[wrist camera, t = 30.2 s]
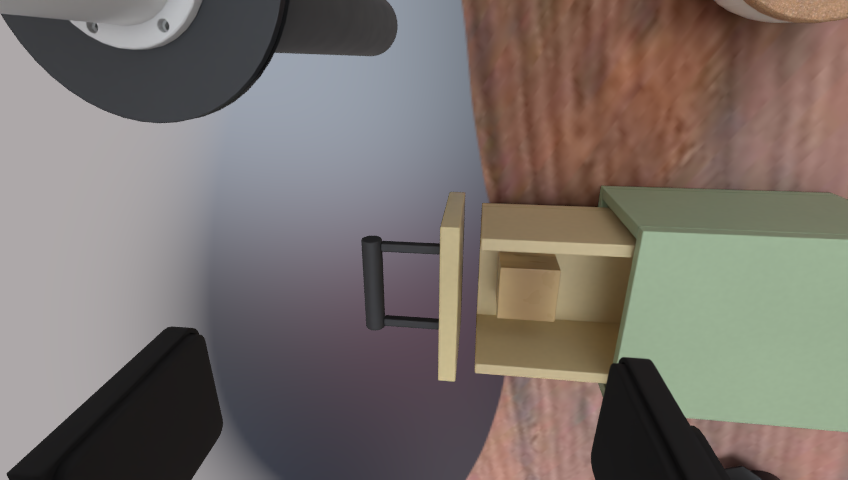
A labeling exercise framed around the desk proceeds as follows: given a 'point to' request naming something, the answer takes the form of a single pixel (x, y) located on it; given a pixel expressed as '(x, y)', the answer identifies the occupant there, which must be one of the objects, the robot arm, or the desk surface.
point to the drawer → (495, 337)
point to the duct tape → (748, 474)
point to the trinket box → (788, 10)
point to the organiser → (739, 301)
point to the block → (527, 286)
